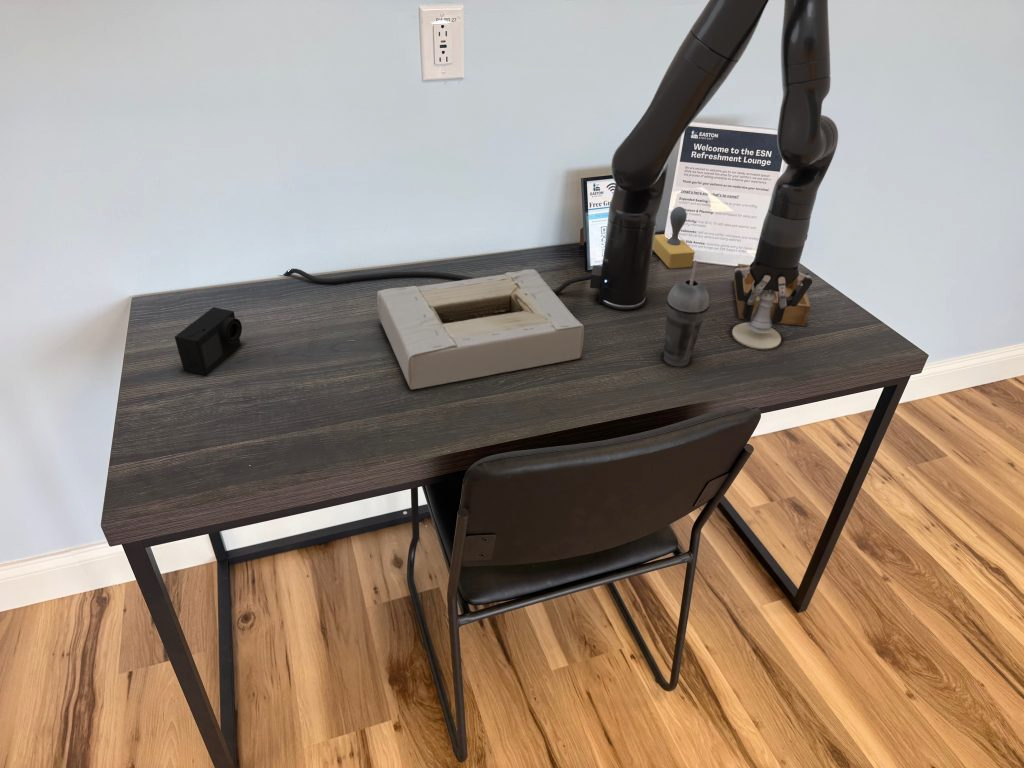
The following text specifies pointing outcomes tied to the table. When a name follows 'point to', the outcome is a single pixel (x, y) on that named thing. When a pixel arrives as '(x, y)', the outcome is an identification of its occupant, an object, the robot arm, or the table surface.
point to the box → (477, 327)
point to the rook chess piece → (762, 313)
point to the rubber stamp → (674, 243)
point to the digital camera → (208, 340)
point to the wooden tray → (791, 313)
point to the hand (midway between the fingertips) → (760, 321)
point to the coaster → (756, 337)
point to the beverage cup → (684, 319)
